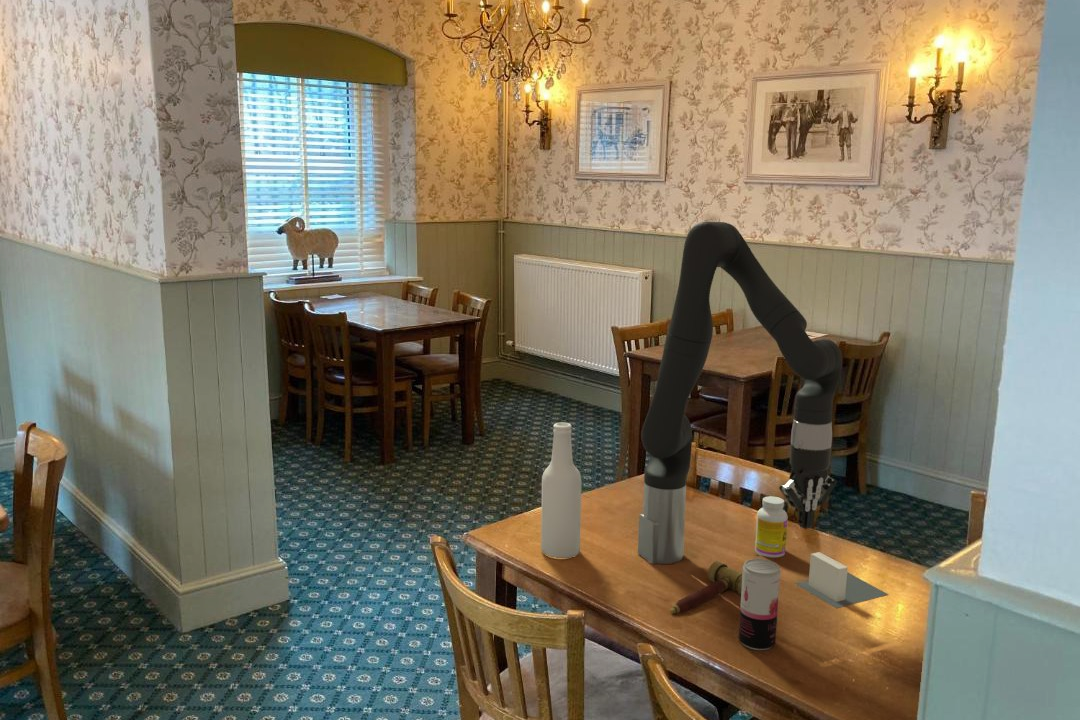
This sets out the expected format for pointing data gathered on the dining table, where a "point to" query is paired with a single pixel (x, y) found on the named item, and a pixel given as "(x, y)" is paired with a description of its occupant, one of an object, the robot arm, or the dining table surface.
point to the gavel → (711, 587)
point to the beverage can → (759, 604)
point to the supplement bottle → (771, 528)
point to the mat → (848, 592)
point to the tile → (827, 576)
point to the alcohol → (561, 499)
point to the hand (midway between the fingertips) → (805, 527)
